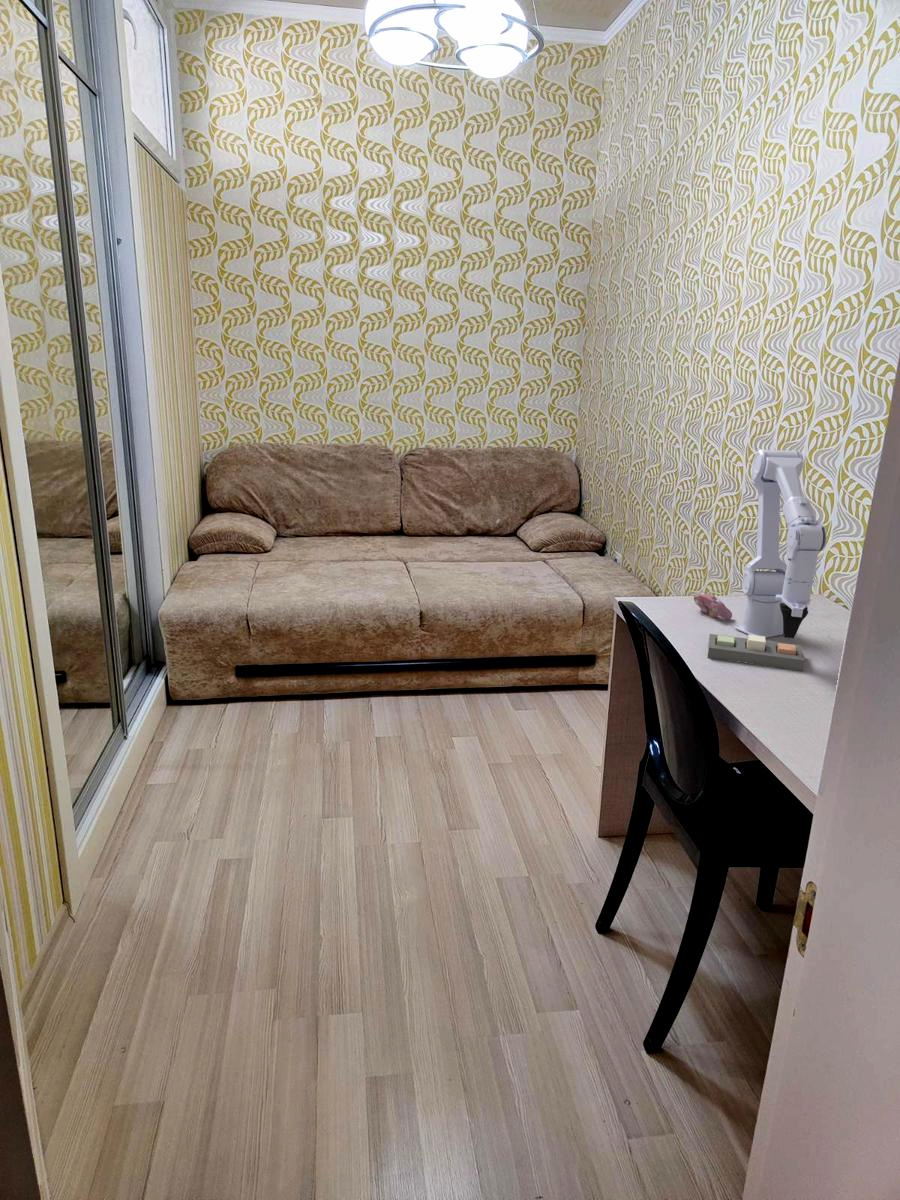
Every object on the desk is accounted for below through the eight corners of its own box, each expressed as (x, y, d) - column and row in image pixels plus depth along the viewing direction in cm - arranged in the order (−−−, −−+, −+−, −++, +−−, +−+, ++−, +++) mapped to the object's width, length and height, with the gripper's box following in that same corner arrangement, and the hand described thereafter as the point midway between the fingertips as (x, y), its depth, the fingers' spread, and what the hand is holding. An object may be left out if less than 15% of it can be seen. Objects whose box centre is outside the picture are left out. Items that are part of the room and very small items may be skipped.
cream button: (763, 648, 181) (765, 636, 180) (763, 654, 178) (765, 642, 177) (746, 646, 182) (748, 634, 181) (746, 652, 179) (748, 640, 178)
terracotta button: (793, 657, 180) (795, 645, 179) (794, 663, 176) (796, 650, 175) (776, 655, 181) (778, 642, 180) (776, 661, 177) (778, 648, 176)
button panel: (799, 655, 182) (801, 645, 181) (803, 670, 174) (805, 660, 173) (708, 643, 188) (709, 633, 187) (707, 657, 179) (708, 647, 179)
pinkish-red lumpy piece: (695, 614, 211) (688, 593, 208) (708, 605, 212) (702, 584, 209) (721, 627, 202) (714, 605, 199) (734, 618, 203) (728, 596, 200)
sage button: (732, 649, 183) (734, 637, 182) (732, 655, 180) (734, 642, 179) (716, 647, 184) (717, 635, 183) (715, 652, 181) (717, 640, 180)
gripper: (777, 567, 180) (768, 623, 185) (781, 586, 167) (771, 646, 172) (811, 570, 178) (800, 627, 182) (817, 590, 165) (806, 650, 169)
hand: (788, 636), depth 177 cm, fingers closed
